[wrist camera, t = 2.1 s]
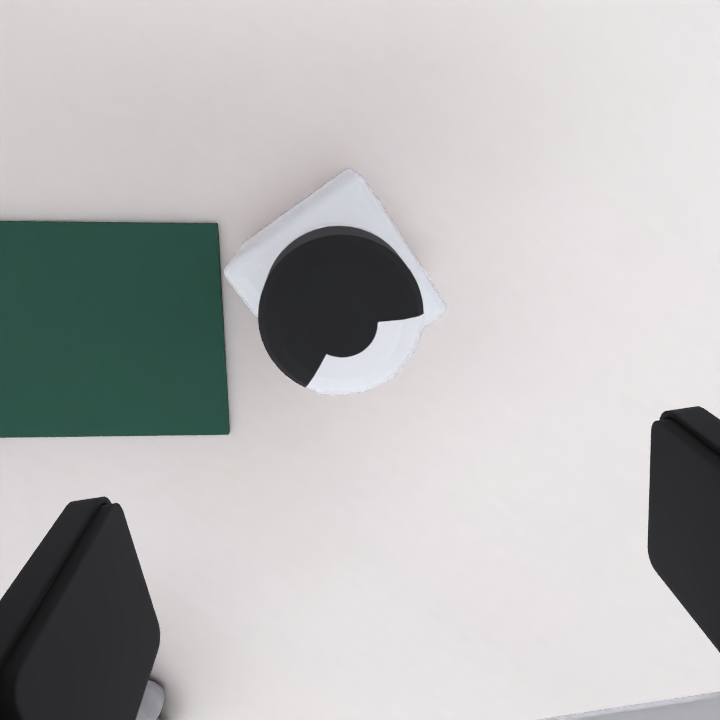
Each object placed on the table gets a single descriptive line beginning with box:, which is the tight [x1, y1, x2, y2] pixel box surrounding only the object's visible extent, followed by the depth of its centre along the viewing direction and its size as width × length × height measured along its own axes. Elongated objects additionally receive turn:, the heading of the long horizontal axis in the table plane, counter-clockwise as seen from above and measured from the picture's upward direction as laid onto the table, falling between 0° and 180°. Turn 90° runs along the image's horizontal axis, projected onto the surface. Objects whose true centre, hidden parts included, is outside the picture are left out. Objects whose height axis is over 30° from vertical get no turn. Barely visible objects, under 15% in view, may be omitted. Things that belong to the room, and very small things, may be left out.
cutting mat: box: [0, 221, 230, 438], centre depth 33 cm, size 14×12×1 cm
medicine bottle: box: [224, 169, 446, 395], centre depth 27 cm, size 7×7×12 cm
